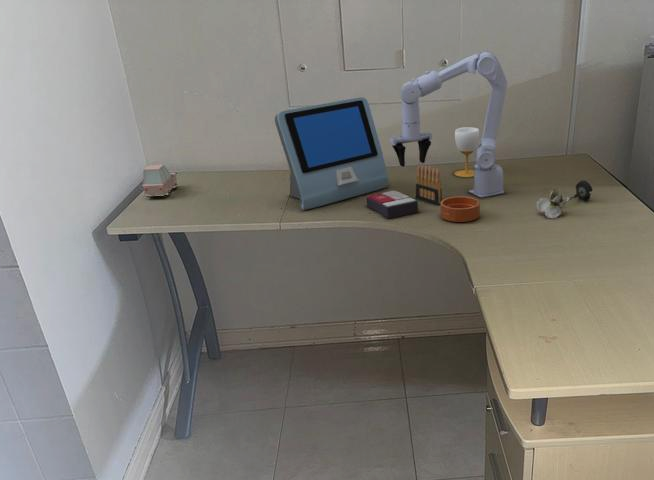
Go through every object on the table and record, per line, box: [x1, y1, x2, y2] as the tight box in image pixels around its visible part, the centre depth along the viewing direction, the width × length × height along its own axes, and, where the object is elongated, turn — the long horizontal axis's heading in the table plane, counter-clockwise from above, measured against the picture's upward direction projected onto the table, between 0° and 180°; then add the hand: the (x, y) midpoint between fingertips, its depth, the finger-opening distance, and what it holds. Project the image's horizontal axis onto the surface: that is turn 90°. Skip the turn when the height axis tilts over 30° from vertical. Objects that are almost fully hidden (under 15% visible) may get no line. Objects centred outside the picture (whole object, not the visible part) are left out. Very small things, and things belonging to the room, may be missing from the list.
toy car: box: [141, 164, 178, 197], centre depth 226 cm, size 9×15×10 cm, turn 2°
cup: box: [454, 126, 480, 178], centre depth 234 cm, size 9×9×16 cm
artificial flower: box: [536, 180, 593, 219], centre depth 201 cm, size 9×22×10 cm, turn 130°
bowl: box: [439, 196, 481, 223], centre depth 197 cm, size 12×12×4 cm
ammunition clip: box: [415, 162, 443, 206], centre depth 209 cm, size 11×2×12 cm, turn 43°
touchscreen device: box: [274, 97, 389, 211], centre depth 214 cm, size 35×20×30 cm, turn 131°
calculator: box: [366, 190, 419, 219], centre depth 205 cm, size 11×4×15 cm
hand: (412, 164), depth 214 cm, fingers open, 7 cm apart
